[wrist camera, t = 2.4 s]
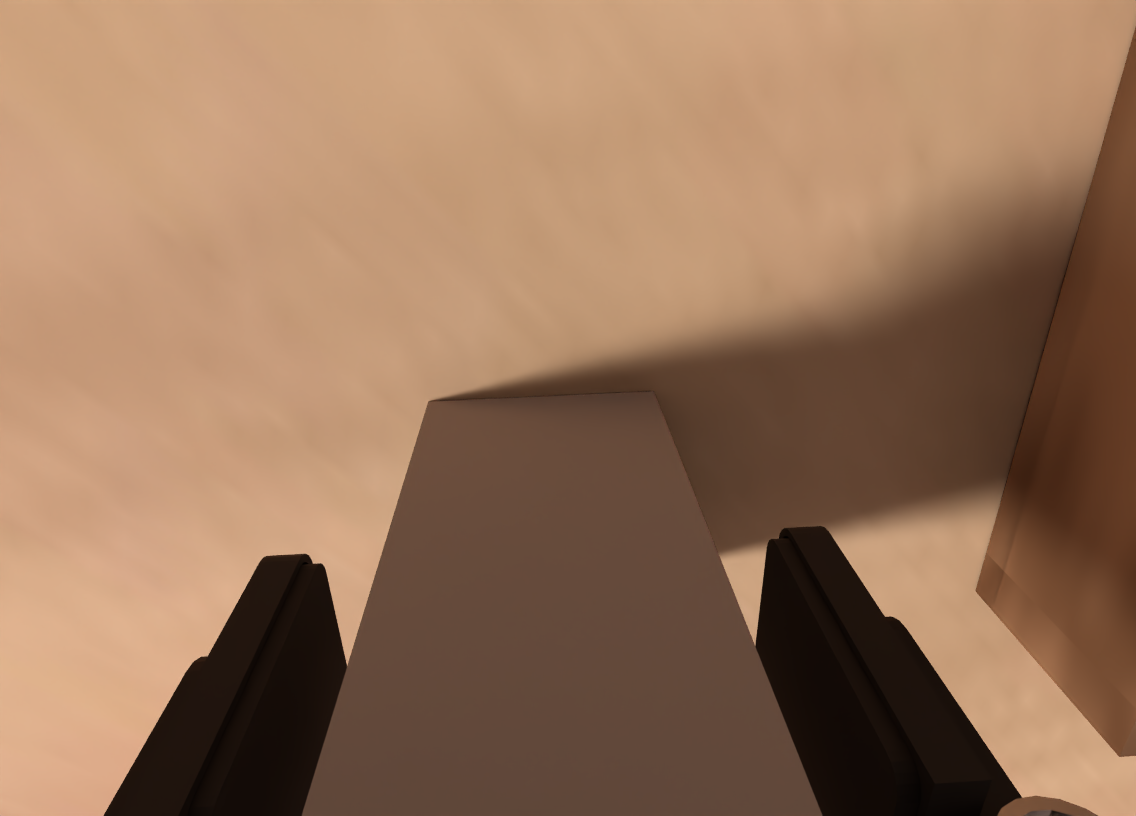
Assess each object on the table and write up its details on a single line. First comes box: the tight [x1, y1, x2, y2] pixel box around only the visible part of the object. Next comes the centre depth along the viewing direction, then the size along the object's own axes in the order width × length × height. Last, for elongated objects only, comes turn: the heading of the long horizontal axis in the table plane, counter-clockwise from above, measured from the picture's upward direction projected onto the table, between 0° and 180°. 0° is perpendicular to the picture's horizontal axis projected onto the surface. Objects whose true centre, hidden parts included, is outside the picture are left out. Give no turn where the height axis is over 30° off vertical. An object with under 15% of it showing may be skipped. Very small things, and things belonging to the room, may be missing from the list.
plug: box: [302, 391, 822, 816], centre depth 8 cm, size 4×4×11 cm
